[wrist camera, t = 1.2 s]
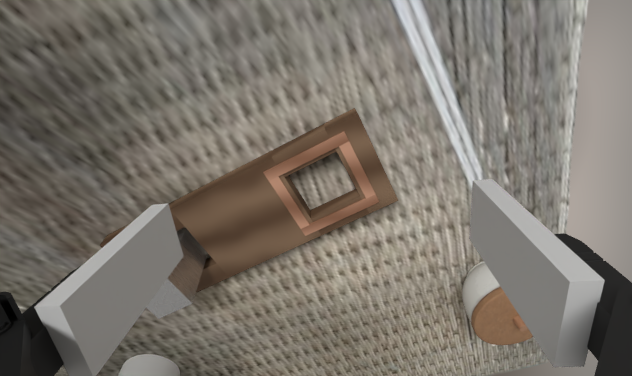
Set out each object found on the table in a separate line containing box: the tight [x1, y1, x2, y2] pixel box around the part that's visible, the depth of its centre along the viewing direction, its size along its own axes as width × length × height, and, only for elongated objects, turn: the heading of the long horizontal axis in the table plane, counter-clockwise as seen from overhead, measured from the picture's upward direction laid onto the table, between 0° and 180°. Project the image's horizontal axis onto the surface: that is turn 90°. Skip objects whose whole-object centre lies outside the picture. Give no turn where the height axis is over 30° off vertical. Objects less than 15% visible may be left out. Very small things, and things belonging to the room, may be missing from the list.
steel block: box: [146, 227, 208, 319], centre depth 42 cm, size 4×4×9 cm
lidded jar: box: [462, 261, 533, 345], centre depth 48 cm, size 11×11×9 cm
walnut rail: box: [100, 108, 398, 292], centre depth 43 cm, size 12×34×2 cm, turn 117°
